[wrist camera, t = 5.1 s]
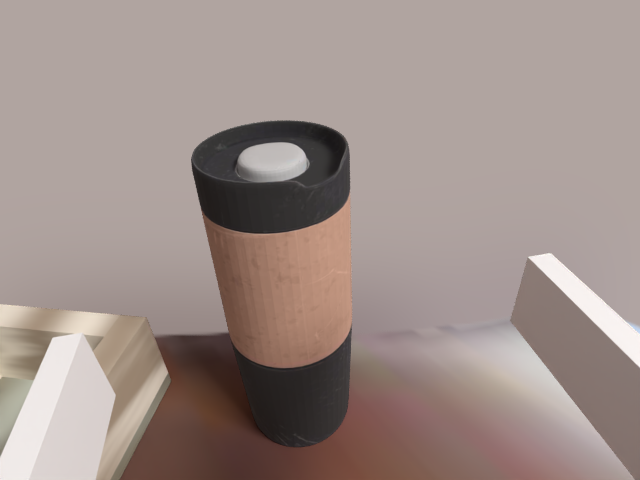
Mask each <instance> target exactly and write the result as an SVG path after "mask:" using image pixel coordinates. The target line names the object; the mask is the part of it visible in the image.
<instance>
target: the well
mask: <svg viewBox="0 0 640 480" xmlns="http://www.w3.org/2000/svg"><path fill="white" fill-rule="evenodd" d="M77 333H83V334H84V336H85V338H86V340H87V342H88V344H89V345H90V347H91V349H92V351H93V353H94V355H95V357H96V359H97V361H98V362H99V364H100V366H101V368H102V370H103V372H104V374H105V376H106V378H107V379H108V381H109V383H110V385H111V387H112V389H113V391H114V393H115V395H116V397H115V401H114V405H113V409H112V413H111V417H110V422H109V426H108V430H107V434H106V438H105V443H104V447H103V451H102V455H101V459H100V463H99V468H98V472H97V476H96V480H120V478H121V476H122V474H123V472H124V470H125V468H126V466H127V464H128V462H129V461H130V459H131V457H132V455H133V453H134V451H135V449H136V447H137V445H138V443H139V441H140V440H141V438H142V436H143V434H144V432H145V430H146V428H147V426H148V424H149V422H150V420H151V419H152V417H153V415H154V413H155V411H156V409H157V407H158V405H159V403H160V401H161V399H162V398H163V396H164V394H165V392H166V390H167V388H168V386H169V384H170V382H171V379H170V376H169V374H168V371H167V369H166V366H165V364H164V361H163V358H162V356H161V353H160V351H159V348H158V346H157V343H156V340H155V338H154V335H153V333H152V330H151V328H150V325H149V322H148V320H147V318H146V317H135V316H125V315H114V314H102V313H91V312H80V311H69V310H58V309H47V308H35V307H24V306H13V305H1V304H0V456H1V454H2V452H3V450H4V447H5V445H6V443H7V441H8V438H9V436H10V434H11V431H12V429H13V427H14V425H15V422H16V420H17V418H18V415H19V413H20V411H21V409H22V406H23V404H24V402H25V400H26V397H27V395H28V393H29V390H30V388H31V386H32V384H33V381H34V379H35V377H36V374H37V372H38V370H39V368H40V365H41V363H42V361H43V359H44V356H45V354H46V352H47V349H48V347H49V345H50V343H51V340H52V338H53V337H59V336H65V335H71V334H77Z"/></svg>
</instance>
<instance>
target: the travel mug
mask: <svg viewBox="0 0 640 480" xmlns="http://www.w3.org/2000/svg"><path fill="white" fill-rule="evenodd" d="M349 160H350V155H349V147H348V143H347V141H346V139H345V137H344V136H343V135H342V134H340V133H339V132H338V131H336V130H334V129H332V128H329V127H327V126H324V125H320V124H316V123H311V122H304V121H266V122H258V123H251V124H246V125H241V126H237V127H234V128H230V129H227V130H225V131H222V132H219V133H217V134H215V135H213V136H211V137H209V138H207V139H206V140H205V141H203V142H202V143H200V144H199V145H198V146H197V147H196V149H195V150H194V152H193V155H192V159H191V162H192V171H193V175H194V180H195V184H196V188H197V193H198V197H199V202H200V206H201V211H202V215H203V219H204V223H205V228H206V232H207V237H208V242H209V246H210V250H211V255H212V259H213V263H214V268H215V273H216V277H217V281H218V286H219V290H220V295H221V299H222V304H223V308H224V312H225V317H226V321H227V326H228V330H229V335H230V338H231V342H232V345H233V349H234V352H235V356H236V359H237V363H238V366H239V370H240V373H241V376H242V380H243V383H244V387H245V390H246V394H247V397H248V401H249V404H250V407H251V410H252V414H253V417H254V419H255V422H256V424H257V426H258V427H259V429H260V430H261V431H262V432H263V433H264V434H265V435H266V436H267V437H268V438H269V439H271V440H272V441H274V442H276V443H279V444H281V445H285V446H289V447H305V446H310V445H314V444H317V443H319V442H321V441H323V440H325V439H326V438H328V437H329V436H330V435H332V434H333V433H334V432H335V431H336V430H337V429H338V427H339V426H340V425H341V423H342V421H343V419H344V417H345V415H346V412H347V408H348V399H349V380H350V356H351V330H352V287H351V220H350V161H349Z"/></svg>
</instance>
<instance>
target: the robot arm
mask: <svg viewBox="0 0 640 480" xmlns="http://www.w3.org/2000/svg"><path fill="white" fill-rule="evenodd" d="M510 321H511V322H512V324H513V325H514V326H515V327H516V329H517V330H518V331H519V332H520V334H521V335H522V336H523V338H524V339H525V340H526V341H527V343H528V344H529V345H530V346H531V348H532V349H533V350H534V351H535V353H536V354H537V355H538V357H539V358H540V359H541V360H542V362H543V363H544V364H545V365H546V367H547V368H548V369H549V371H550V372H551V373H552V374H553V376H554V377H555V378H556V379H557V381H558V382H559V383H560V385H561V386H562V387H563V388H564V390H565V391H566V392H567V393H568V395H569V396H570V397H571V399H572V400H573V401H574V402H575V404H576V405H577V406H578V407H579V409H580V410H581V411H582V413H583V414H584V415H585V416H586V418H587V419H588V420H589V421H590V423H591V424H592V425H593V426H594V428H595V429H596V430H597V432H598V433H599V434H600V435H601V437H602V438H603V439H604V440H605V442H606V443H607V444H608V446H609V447H610V448H611V449H612V451H613V452H614V453H615V454H616V456H617V457H618V458H619V460H620V461H621V462H622V463H623V465H624V466H625V467H626V468H627V470H628V471H629V472H630V474H631V475H632V476H633V477H634V479H635V480H640V334H639V333H638V332H637V331H636V330H634V329H633V328H632V327H631V326H630V325H629V324H628V323H627V322H626V321H625V320H623V319H622V318H621V317H620V316H619V315H618V314H617V313H616V312H615V311H613V310H612V309H611V308H610V307H609V306H608V305H607V304H606V303H605V302H604V301H603V300H601V299H600V298H599V297H598V296H597V295H596V294H595V293H593V291H592V290H590V289H589V288H588V287H587V286H586V285H585V284H584V283H583V282H582V281H581V280H579V279H578V278H577V277H576V276H575V275H574V274H573V273H572V272H571V271H570V270H568V269H567V268H566V267H565V266H564V265H563V264H562V263H561V262H560V261H558V260H557V259H556V258H555V257H554V256H553V255H552V254H551V253H549V254H543V255H537V256H531V257H528V259H527V262H526V266H525V269H524V273H523V277H522V280H521V284H520V288H519V291H518V295H517V298H516V302H515V306H514V309H513V312H512V316H511V320H510ZM115 397H116V395H115V393H114V391H113V389H112V387H111V385H110V383H109V381H108V379H107V378H106V376H105V374H104V372H103V370H102V368H101V366H100V364H99V362H98V361H97V359H96V357H95V355H94V353H93V351H92V349H91V347H90V345H89V344H88V342H87V340H86V338H85V336H84V334H83V333H77V334H71V335H65V336H59V337H53V338H52V340H51V343H50V345H49V347H48V349H47V352H46V354H45V356H44V359H43V361H42V363H41V365H40V368H39V370H38V372H37V374H36V377H35V379H34V381H33V384H32V386H31V388H30V390H29V393H28V395H27V397H26V400H25V402H24V404H23V406H22V409H21V411H20V413H19V415H18V418H17V420H16V422H15V425H14V427H13V429H12V431H11V434H10V436H9V438H8V441H7V443H6V445H5V447H4V450H3V452H2V454H1V456H0V480H96V476H97V472H98V468H99V463H100V459H101V455H102V451H103V447H104V443H105V438H106V434H107V430H108V426H109V422H110V417H111V413H112V409H113V405H114V401H115Z"/></svg>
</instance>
